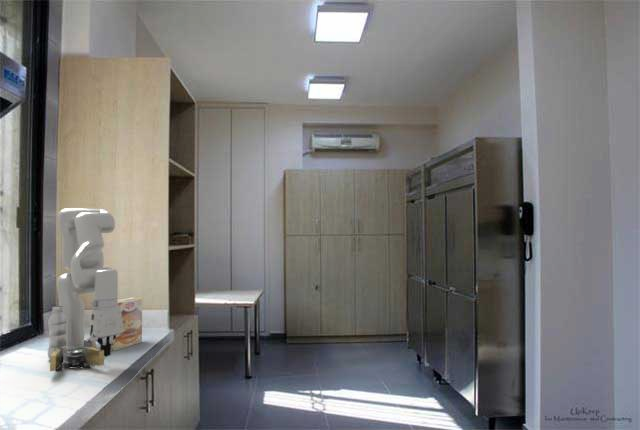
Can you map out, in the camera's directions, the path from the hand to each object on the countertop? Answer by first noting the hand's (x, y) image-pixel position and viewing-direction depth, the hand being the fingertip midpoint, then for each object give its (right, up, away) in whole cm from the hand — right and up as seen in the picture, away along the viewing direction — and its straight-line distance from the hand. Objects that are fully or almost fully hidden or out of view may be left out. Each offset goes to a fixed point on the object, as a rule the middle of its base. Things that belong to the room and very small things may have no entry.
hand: (105, 355), depth 153 cm
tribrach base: (-12, -5, +4) cm, 14 cm away
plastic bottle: (-25, -6, +13) cm, 28 cm away
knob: (-13, -5, +14) cm, 20 cm away
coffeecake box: (-8, -6, +31) cm, 33 cm away
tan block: (-3, -5, -2) cm, 6 cm away
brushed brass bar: (-14, -5, -5) cm, 16 cm away
